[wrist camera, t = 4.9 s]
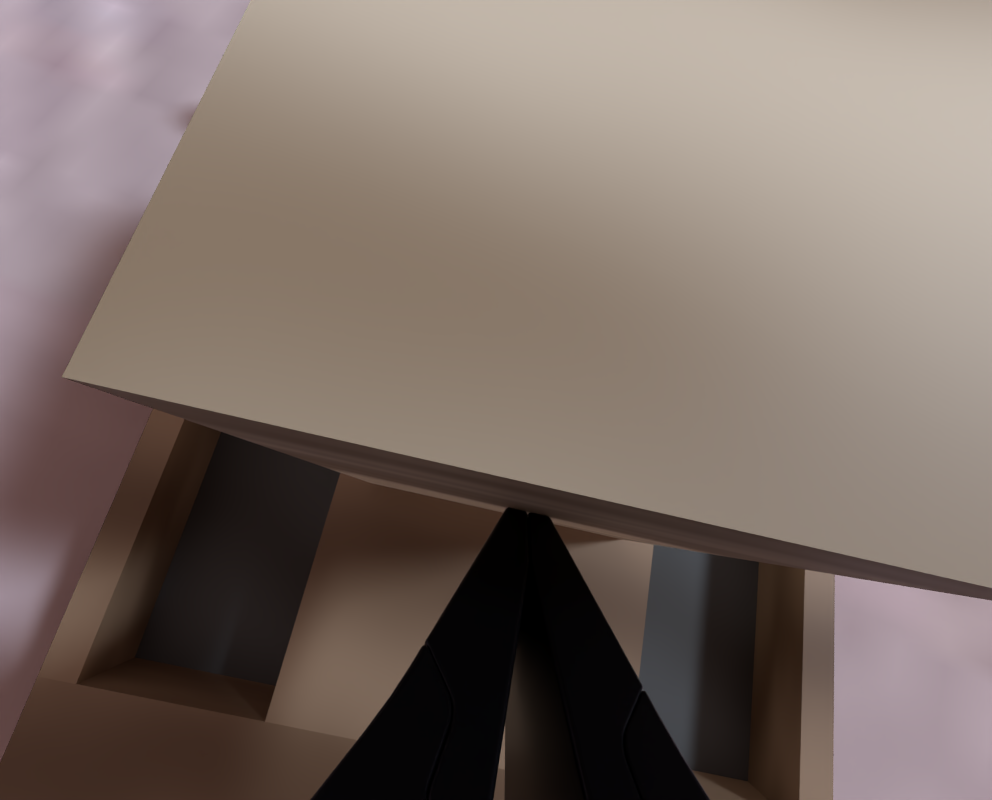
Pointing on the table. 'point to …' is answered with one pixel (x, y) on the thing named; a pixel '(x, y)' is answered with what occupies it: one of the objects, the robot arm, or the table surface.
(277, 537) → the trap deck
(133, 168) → the table surface
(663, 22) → the birch block
